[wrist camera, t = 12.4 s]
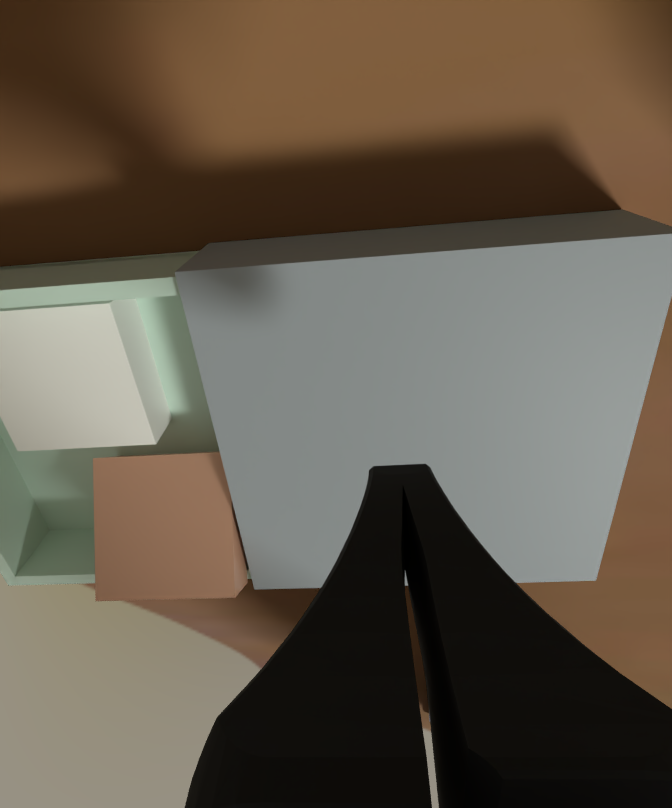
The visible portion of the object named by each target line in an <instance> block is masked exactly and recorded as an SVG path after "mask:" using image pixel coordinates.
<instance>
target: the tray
mask: <svg viewBox="0 0 672 808" xmlns="http://www.w3.org/2000/svg"><path fill="white" fill-rule="evenodd" d="M198 252H199V251H190V252H178V253H165V254H153V255H140V256H128V257H115V258H103V259H91V260H78V261H66V262H53V263H41V264H28V265H16V266H3V267H0V309H1V308H15V307H28V306H42V305H56V304H69V303H83V302H96V301H110V300H124V299H136V301H137V304H138V307H139V310H140V314H141V317H142V320H143V324H144V327H145V330H146V334H147V337H148V340H149V344H150V347H151V350H152V354H153V357H154V360H155V364H156V367H157V370H158V374H159V377H160V380H161V384H162V387H163V390H164V393H165V397H166V400H167V403H168V407H169V410H170V413H171V417H172V419H171V421H170V423H169V424H168V426H167V427H166V429H165V431H164V432H163V434H162V436H161V437H160V439H159V440H158V442H157V444H152V445H133V446H113V447H94V448H74V449H55V450H35V451H17V449H16V447H15V445H14V443H13V441H12V439H11V437H10V435H9V433H8V431H7V429H6V427H5V425H4V423H3V421H2V419H1V417H0V573H1V574H2V576H3V578H4V579H5V581H6V582H7V584H8V585H44V584H80V583H95V542H94V491H93V458H102V457H112V456H128V455H149V454H170V453H191V452H212V451H219V447H218V443H217V439H216V435H215V431H214V427H213V423H212V419H211V415H210V411H209V407H208V403H207V399H206V395H205V391H204V387H203V383H202V379H201V375H200V371H199V367H198V363H197V359H196V355H195V351H194V347H193V343H192V339H191V335H190V332H189V328H188V324H187V320H186V316H185V312H184V308H183V304H182V300H181V296H180V292H179V288H178V284H177V280H176V276H175V271H176V270H178V269H179V268H180V267H181V266H182V265H184V264H185V263H186V262H187V261H188V260H189V259H191V258H192V257H193V256H194V255H195V254H197V253H198ZM247 579H252V578H251V574H250V570H249V566H248V562H247Z"/></svg>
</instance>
